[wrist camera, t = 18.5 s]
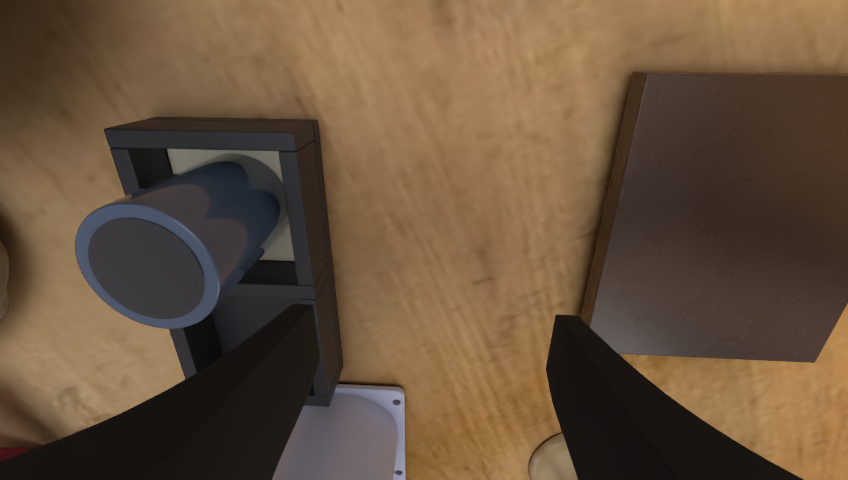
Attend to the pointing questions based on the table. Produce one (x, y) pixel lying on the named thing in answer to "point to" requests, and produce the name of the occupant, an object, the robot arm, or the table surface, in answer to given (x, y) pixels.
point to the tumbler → (182, 240)
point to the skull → (4, 280)
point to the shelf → (725, 218)
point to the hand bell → (552, 461)
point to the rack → (284, 261)
